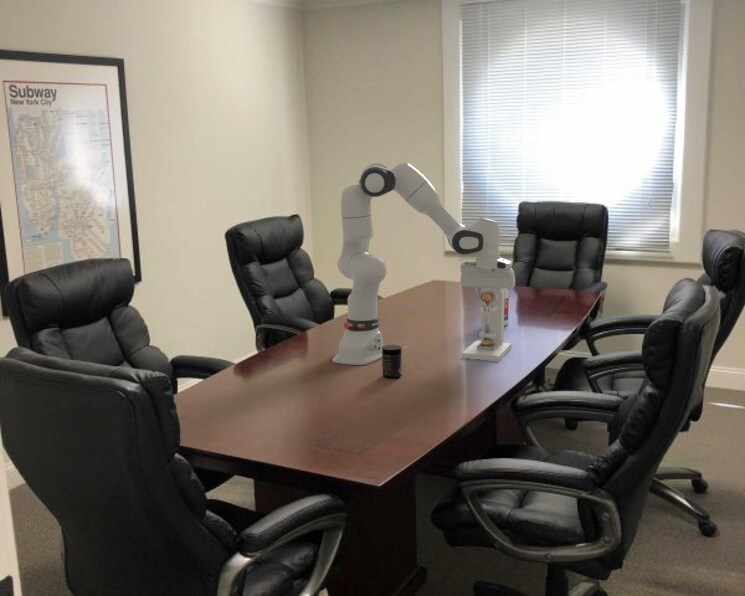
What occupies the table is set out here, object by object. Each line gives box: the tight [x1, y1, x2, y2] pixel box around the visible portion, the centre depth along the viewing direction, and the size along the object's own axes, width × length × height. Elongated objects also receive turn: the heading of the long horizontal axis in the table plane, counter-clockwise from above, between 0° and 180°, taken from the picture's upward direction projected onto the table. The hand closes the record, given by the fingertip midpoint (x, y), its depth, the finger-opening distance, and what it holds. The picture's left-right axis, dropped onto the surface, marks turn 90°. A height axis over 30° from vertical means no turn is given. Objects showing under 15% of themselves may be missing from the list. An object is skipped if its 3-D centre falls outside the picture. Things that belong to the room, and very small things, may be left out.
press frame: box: [461, 287, 513, 362], centre depth 300 cm, size 20×14×30 cm
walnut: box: [482, 338, 493, 347], centre depth 302 cm, size 4×4×4 cm
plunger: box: [478, 292, 495, 339], centre depth 300 cm, size 6×6×17 cm
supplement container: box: [381, 344, 403, 380], centre depth 274 cm, size 7×7×10 cm
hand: (487, 299), depth 298 cm, fingers closed on plunger, 4 cm apart
